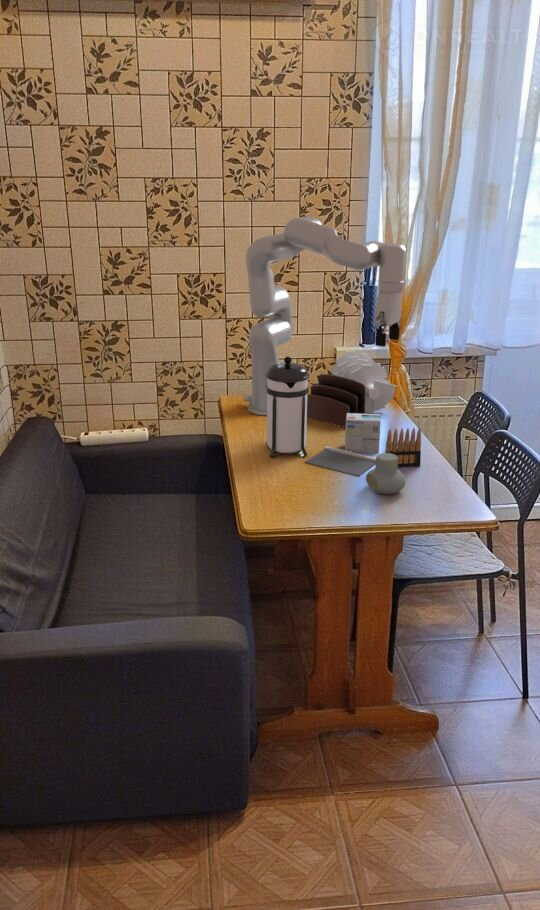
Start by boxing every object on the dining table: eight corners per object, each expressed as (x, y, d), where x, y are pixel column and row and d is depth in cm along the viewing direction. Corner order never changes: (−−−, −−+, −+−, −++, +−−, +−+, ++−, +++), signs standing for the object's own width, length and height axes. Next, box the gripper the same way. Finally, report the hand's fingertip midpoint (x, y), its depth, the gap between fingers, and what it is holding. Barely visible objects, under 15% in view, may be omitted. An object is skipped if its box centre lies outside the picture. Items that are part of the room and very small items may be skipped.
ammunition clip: (418, 464, 228) (421, 426, 223) (420, 466, 226) (423, 428, 222) (383, 465, 227) (386, 427, 222) (384, 468, 225) (387, 429, 221)
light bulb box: (378, 445, 242) (380, 413, 237) (379, 453, 235) (381, 420, 231) (344, 444, 242) (346, 411, 238) (344, 452, 236) (346, 419, 232)
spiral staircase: (359, 426, 269) (338, 400, 291) (404, 403, 269) (379, 379, 291) (340, 383, 260) (320, 360, 282) (387, 359, 260) (362, 338, 282)
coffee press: (322, 450, 238) (326, 355, 226) (288, 464, 227) (290, 366, 215) (281, 435, 249) (282, 345, 237) (246, 449, 238) (246, 355, 226)
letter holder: (318, 408, 274) (320, 370, 269) (364, 421, 262) (367, 382, 257) (301, 415, 267) (302, 376, 262) (347, 429, 255) (350, 388, 250)
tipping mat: (304, 462, 228) (304, 459, 228) (326, 448, 238) (326, 445, 238) (358, 476, 219) (359, 473, 219) (379, 461, 229) (379, 458, 229)
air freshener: (362, 484, 214) (364, 451, 211) (388, 480, 217) (390, 447, 213) (381, 500, 205) (383, 466, 201) (408, 496, 208) (411, 462, 204)
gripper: (391, 281, 239) (387, 335, 246) (366, 289, 226) (363, 346, 232) (413, 283, 236) (409, 338, 242) (389, 292, 222) (386, 350, 229)
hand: (387, 342), depth 237 cm, fingers open, 9 cm apart
